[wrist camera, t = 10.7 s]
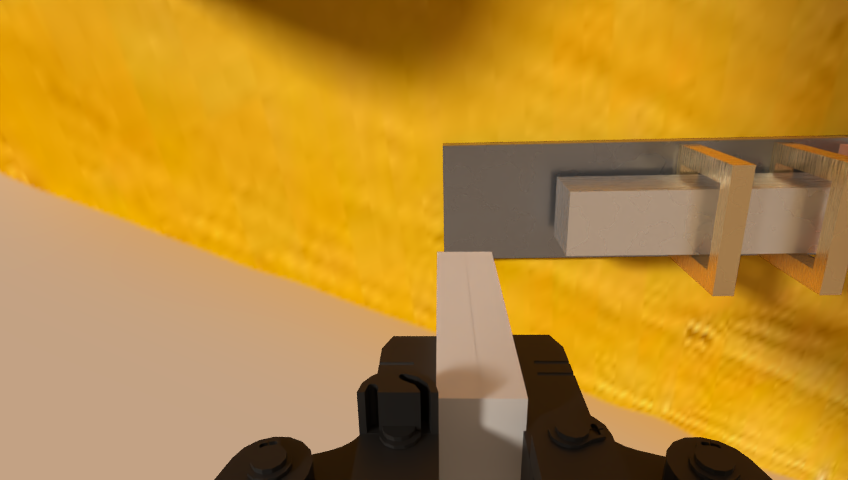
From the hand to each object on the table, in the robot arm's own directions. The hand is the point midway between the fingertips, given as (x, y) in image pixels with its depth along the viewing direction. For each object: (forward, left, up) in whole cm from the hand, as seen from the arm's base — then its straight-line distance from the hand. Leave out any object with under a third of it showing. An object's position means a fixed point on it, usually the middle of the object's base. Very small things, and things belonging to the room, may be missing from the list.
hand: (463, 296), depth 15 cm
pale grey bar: (+18, -3, -21) cm, 28 cm away
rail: (+15, -3, -23) cm, 28 cm away
